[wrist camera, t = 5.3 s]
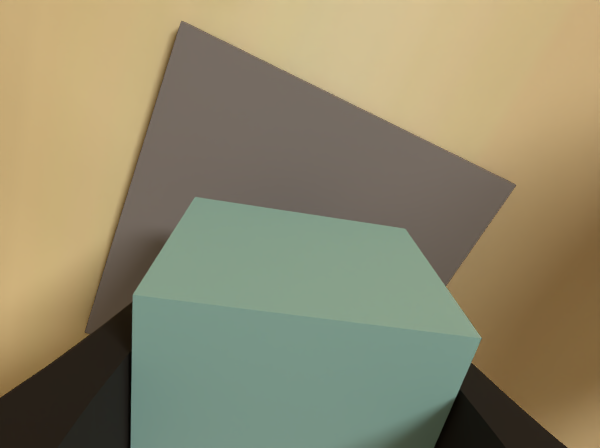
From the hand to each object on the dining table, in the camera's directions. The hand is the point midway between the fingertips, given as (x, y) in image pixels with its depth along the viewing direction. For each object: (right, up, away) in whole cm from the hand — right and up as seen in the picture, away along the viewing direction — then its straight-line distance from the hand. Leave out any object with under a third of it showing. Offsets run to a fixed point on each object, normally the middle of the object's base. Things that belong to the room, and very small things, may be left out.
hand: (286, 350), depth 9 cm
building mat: (0, +2, +4) cm, 4 cm away
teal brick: (0, +1, +2) cm, 2 cm away
